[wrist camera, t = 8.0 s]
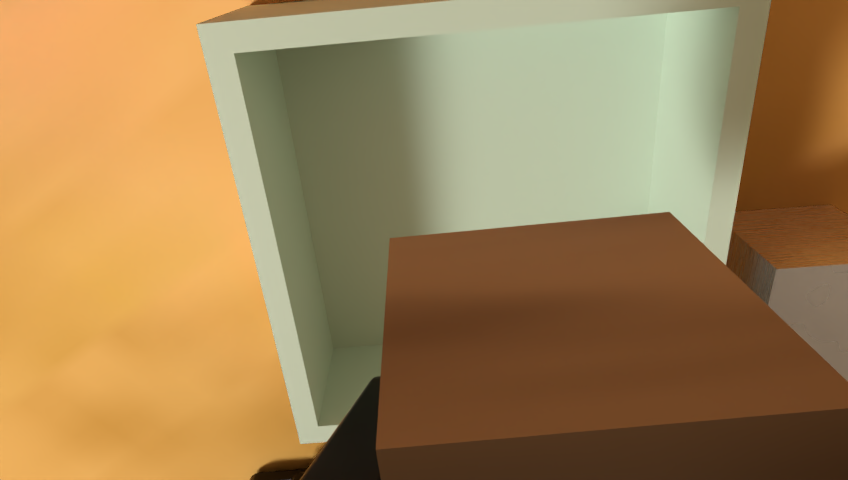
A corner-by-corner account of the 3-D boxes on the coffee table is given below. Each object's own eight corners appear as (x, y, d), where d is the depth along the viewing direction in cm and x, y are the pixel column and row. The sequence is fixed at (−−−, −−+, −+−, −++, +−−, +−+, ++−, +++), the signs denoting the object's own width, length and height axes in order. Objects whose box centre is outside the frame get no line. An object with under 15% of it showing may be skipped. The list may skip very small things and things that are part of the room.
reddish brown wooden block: (793, 335, 20) (865, 408, 17) (689, 342, 20) (742, 417, 17) (828, 203, 18) (920, 258, 15) (711, 211, 18) (776, 269, 15)
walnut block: (648, 425, 10) (785, 688, 6) (416, 445, 10) (422, 717, 6) (669, 211, 8) (873, 406, 5) (389, 237, 8) (375, 449, 5)
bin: (648, 328, 20) (700, 412, 16) (320, 355, 20) (300, 443, 16) (687, -36, 15) (776, -31, 11) (248, 5, 15) (196, 23, 11)
